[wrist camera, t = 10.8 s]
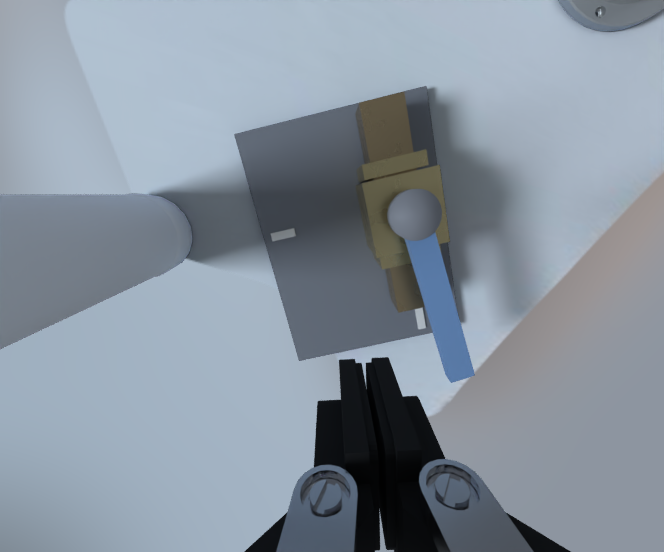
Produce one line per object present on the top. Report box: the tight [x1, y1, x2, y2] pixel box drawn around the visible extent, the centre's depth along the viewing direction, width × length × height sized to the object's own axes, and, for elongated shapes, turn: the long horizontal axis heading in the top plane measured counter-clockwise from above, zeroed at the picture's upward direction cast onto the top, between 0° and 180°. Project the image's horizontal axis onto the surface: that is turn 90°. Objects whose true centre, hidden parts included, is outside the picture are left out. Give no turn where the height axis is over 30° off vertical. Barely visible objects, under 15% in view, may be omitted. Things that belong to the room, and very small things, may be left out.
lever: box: [387, 189, 475, 383], centre depth 24 cm, size 16×4×1 cm, turn 20°
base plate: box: [234, 86, 457, 361], centre depth 32 cm, size 18×24×1 cm
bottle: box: [0, 193, 192, 349], centre depth 18 cm, size 8×8×30 cm
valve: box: [355, 92, 450, 313], centre depth 28 cm, size 6×18×8 cm, turn 13°
